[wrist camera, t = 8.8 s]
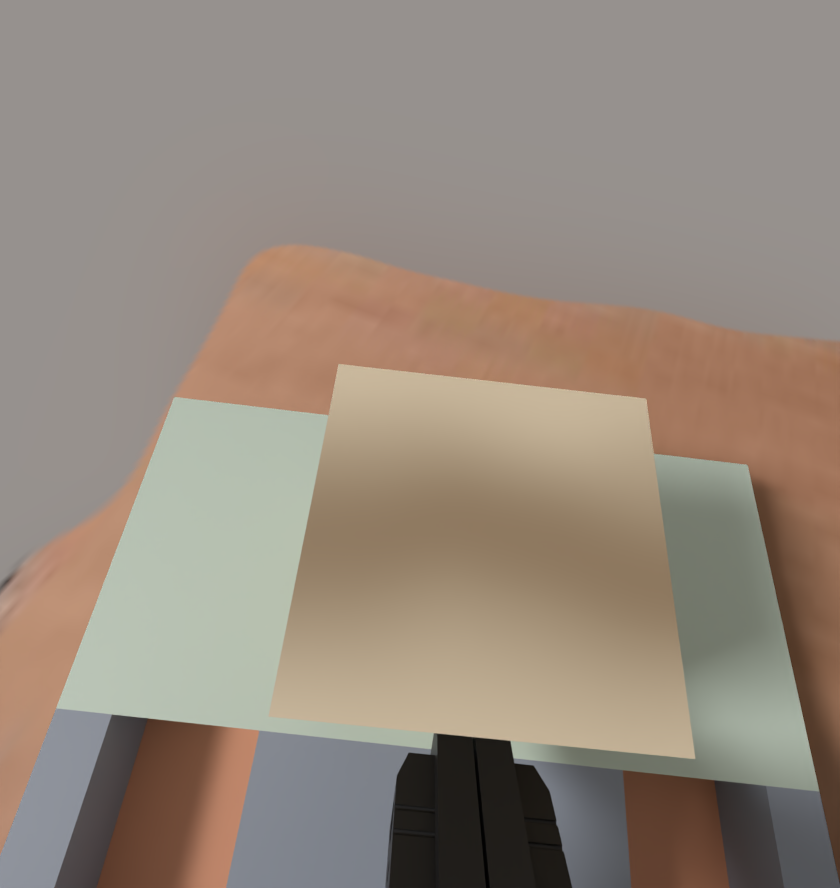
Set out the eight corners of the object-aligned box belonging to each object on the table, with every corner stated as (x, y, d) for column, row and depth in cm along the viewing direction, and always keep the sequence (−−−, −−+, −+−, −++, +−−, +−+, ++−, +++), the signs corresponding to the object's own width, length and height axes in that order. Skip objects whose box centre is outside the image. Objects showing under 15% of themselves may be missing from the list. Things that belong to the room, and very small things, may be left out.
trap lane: (200, 436, 21) (174, 397, 18) (702, 494, 21) (747, 465, 19) (-231, 1714, 9) (-485, 2135, 6) (924, 1807, 9) (1140, 2248, 7)
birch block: (357, 506, 17) (338, 363, 10) (535, 526, 17) (646, 398, 10) (325, 710, 14) (268, 716, 7) (539, 731, 14) (695, 758, 7)
